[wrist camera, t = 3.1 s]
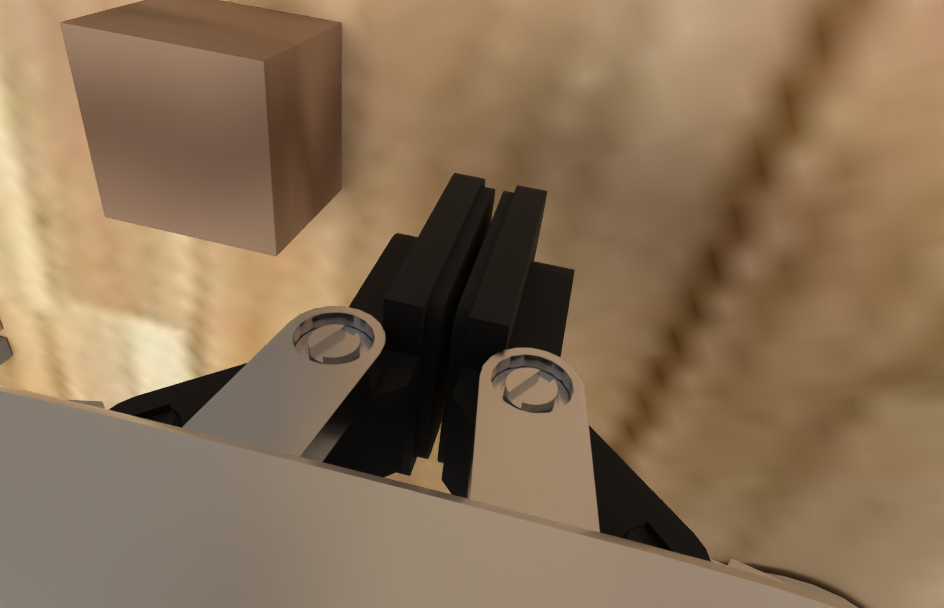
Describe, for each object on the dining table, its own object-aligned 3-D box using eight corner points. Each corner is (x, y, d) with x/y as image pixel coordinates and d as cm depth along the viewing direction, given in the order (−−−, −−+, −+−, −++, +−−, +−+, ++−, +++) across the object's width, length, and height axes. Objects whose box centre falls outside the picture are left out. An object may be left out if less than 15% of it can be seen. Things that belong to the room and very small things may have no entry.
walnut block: (342, 188, 21) (276, 256, 17) (198, 157, 21) (104, 217, 18) (342, 21, 18) (264, 61, 14) (176, -9, 19) (60, 22, 15)
